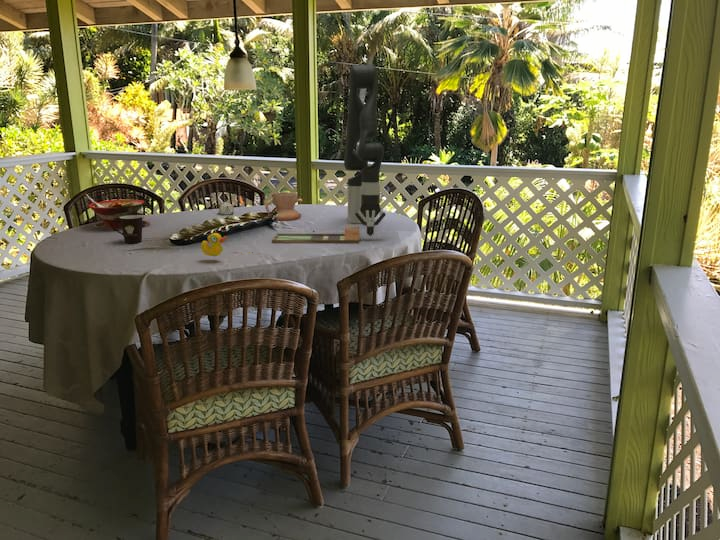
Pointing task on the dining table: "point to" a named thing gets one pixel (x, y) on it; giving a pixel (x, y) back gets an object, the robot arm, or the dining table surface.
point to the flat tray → (306, 238)
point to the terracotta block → (351, 233)
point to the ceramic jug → (285, 206)
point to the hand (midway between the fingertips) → (370, 235)
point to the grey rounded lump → (226, 208)
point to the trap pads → (323, 236)
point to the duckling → (213, 245)
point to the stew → (116, 211)
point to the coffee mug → (130, 228)
